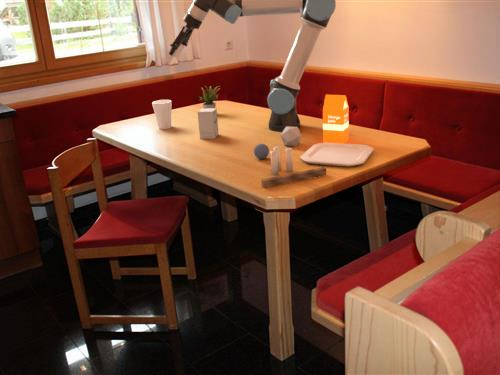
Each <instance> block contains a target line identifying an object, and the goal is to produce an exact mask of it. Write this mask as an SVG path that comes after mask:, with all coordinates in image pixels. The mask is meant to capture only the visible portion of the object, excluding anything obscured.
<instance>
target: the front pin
mask: <svg viewBox="0 0 500 375" xmlns="http://www.w3.org/2000/svg"><path fill="white" fill-rule="evenodd" d="M273 151H277V160H278V171H280V170H281V171H282V166H281V165H282V163H281V147H280V146H277V145H276V146H273Z"/></svg>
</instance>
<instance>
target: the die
mask: <svg viewBox="0 0 500 375" xmlns="http://www.w3.org/2000/svg"><path fill="white" fill-rule="evenodd" d="M302 138H303V136H302V134H301V131H300V128H298V127H285V129H284V130H283V131H281V134H280V139H281V140H282V143H283V145H284V146H285V147H298V145H299V143H300V142H301V140H302Z"/></svg>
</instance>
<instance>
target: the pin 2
mask: <svg viewBox="0 0 500 375" xmlns="http://www.w3.org/2000/svg"><path fill="white" fill-rule="evenodd" d="M293 159H294V158H293V148H292V147H286V148H285V166H286V167H285V168H286V172H287V173H293V171H294V164H293V161H294V160H293Z"/></svg>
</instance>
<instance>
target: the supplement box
mask: <svg viewBox="0 0 500 375" xmlns="http://www.w3.org/2000/svg"><path fill="white" fill-rule="evenodd" d="M217 111H218V109H217V107H216V108H206V109H204V108H201V109H199V110H198V111H197V121H198V131H199V139H204V140H205V139H206V140H207V139H208V140H209V139H211V140H215V139H216V137H218V135H219V122H218V112H217Z"/></svg>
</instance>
